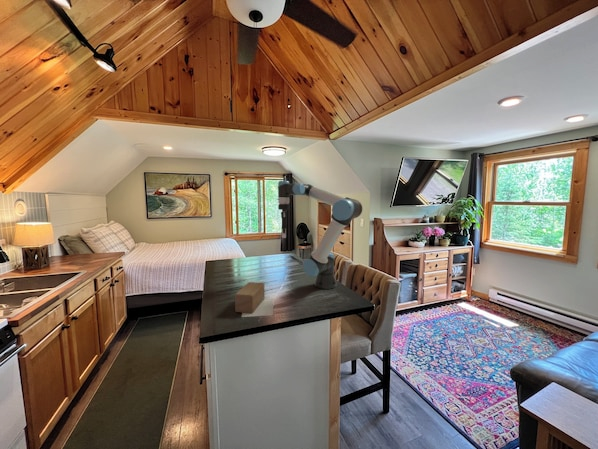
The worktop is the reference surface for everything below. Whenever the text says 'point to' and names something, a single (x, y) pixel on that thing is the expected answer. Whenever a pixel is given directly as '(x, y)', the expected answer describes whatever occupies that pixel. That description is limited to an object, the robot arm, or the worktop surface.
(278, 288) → the worktop surface
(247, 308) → the wooden block
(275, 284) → the worktop surface
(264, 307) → the mat
